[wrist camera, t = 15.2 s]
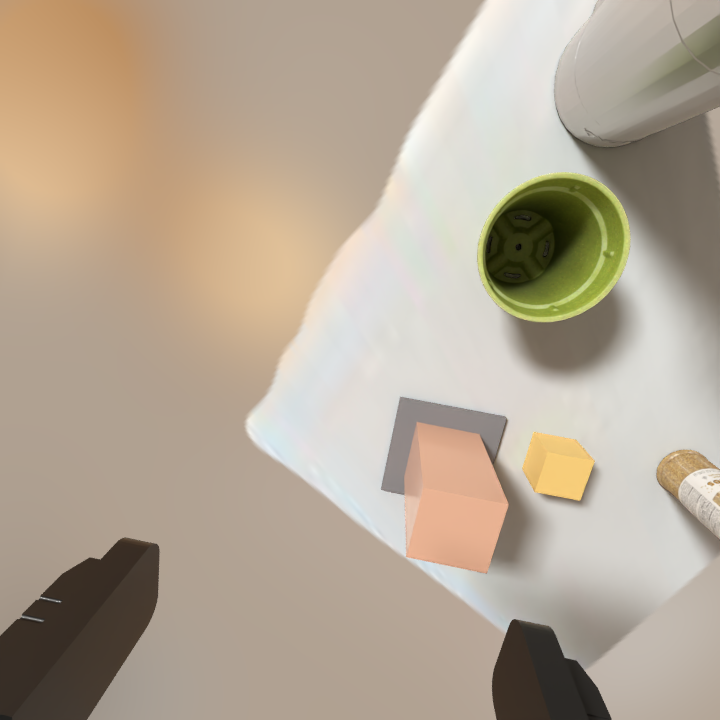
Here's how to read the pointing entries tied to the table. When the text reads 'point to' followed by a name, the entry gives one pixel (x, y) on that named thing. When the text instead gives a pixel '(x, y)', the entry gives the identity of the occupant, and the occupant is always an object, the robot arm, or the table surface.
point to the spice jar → (693, 485)
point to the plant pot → (554, 247)
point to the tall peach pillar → (452, 499)
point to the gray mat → (438, 416)
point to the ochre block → (557, 466)
